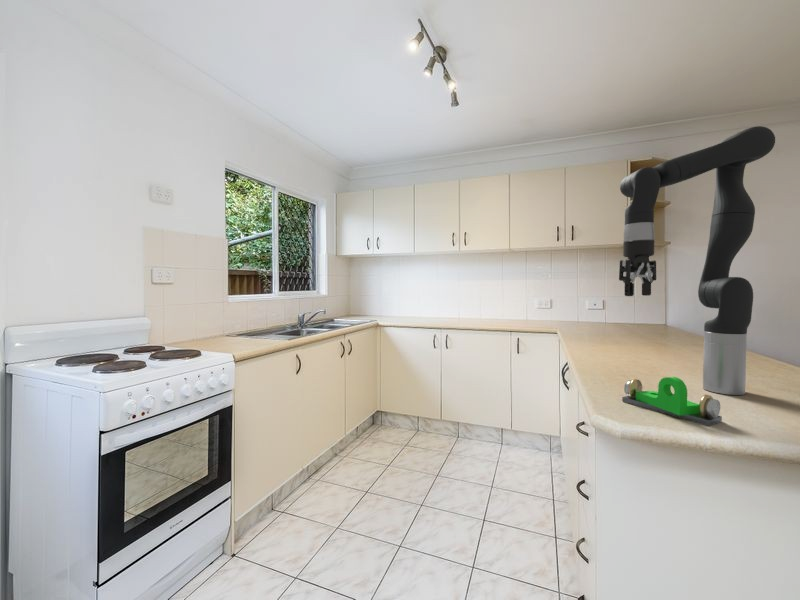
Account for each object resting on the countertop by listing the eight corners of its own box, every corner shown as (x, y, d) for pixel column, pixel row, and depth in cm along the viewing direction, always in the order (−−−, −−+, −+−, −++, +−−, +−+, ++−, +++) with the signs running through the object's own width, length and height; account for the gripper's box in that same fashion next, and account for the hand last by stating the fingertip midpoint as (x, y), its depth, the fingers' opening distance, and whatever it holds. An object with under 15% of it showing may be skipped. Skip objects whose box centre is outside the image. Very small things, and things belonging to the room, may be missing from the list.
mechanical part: (701, 413, 83) (702, 379, 82) (679, 415, 81) (680, 380, 81) (655, 397, 94) (655, 367, 94) (635, 399, 93) (636, 368, 93)
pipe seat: (634, 398, 98) (635, 376, 98) (721, 421, 81) (722, 395, 81) (622, 401, 95) (622, 379, 95) (709, 426, 78) (709, 398, 78)
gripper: (639, 242, 110) (638, 295, 111) (610, 240, 104) (610, 296, 104) (666, 239, 104) (665, 295, 104) (637, 237, 97) (636, 296, 98)
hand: (637, 295), depth 104 cm, fingers open, 8 cm apart
